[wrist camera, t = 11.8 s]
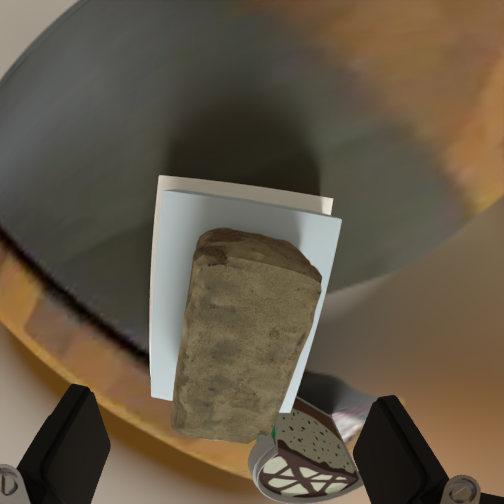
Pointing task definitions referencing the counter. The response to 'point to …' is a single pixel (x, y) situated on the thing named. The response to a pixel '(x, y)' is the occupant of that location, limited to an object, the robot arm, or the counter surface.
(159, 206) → the tower base slab
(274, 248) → the stone block
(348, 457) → the food container
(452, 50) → the counter surface
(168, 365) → the tower top slab
